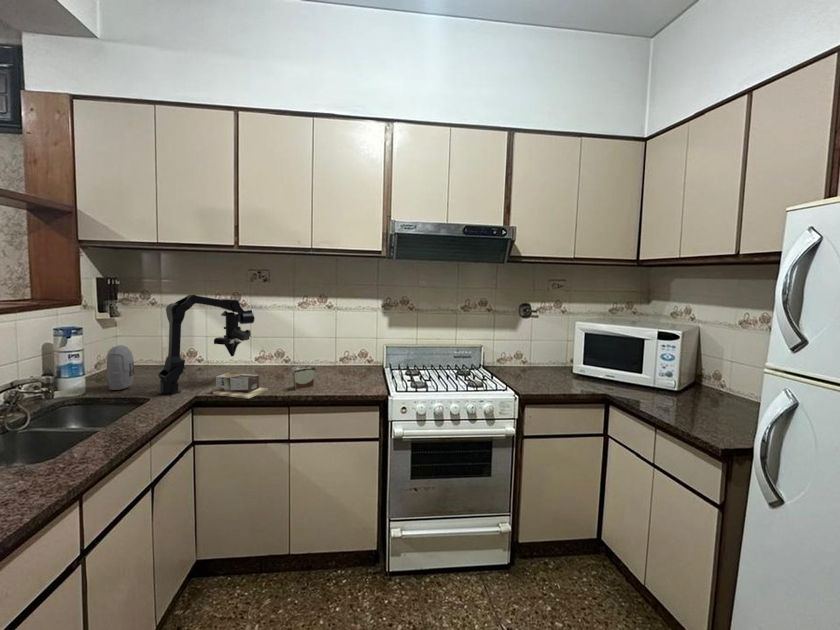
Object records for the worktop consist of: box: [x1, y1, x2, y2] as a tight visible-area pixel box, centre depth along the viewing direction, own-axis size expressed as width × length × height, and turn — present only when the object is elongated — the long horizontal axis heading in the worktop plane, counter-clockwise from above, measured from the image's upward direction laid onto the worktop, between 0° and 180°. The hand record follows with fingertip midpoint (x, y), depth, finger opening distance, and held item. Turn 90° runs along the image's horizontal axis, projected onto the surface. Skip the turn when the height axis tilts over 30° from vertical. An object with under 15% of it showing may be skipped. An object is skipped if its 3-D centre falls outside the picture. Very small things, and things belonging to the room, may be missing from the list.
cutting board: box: [212, 387, 269, 400], centre depth 191 cm, size 18×14×1 cm
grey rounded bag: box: [105, 344, 135, 391], centre depth 192 cm, size 15×8×20 cm, turn 15°
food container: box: [291, 364, 317, 391], centre depth 203 cm, size 12×6×10 cm, turn 135°
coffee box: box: [215, 372, 260, 393], centre depth 192 cm, size 9×6×16 cm
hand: (232, 356), depth 208 cm, fingers closed
